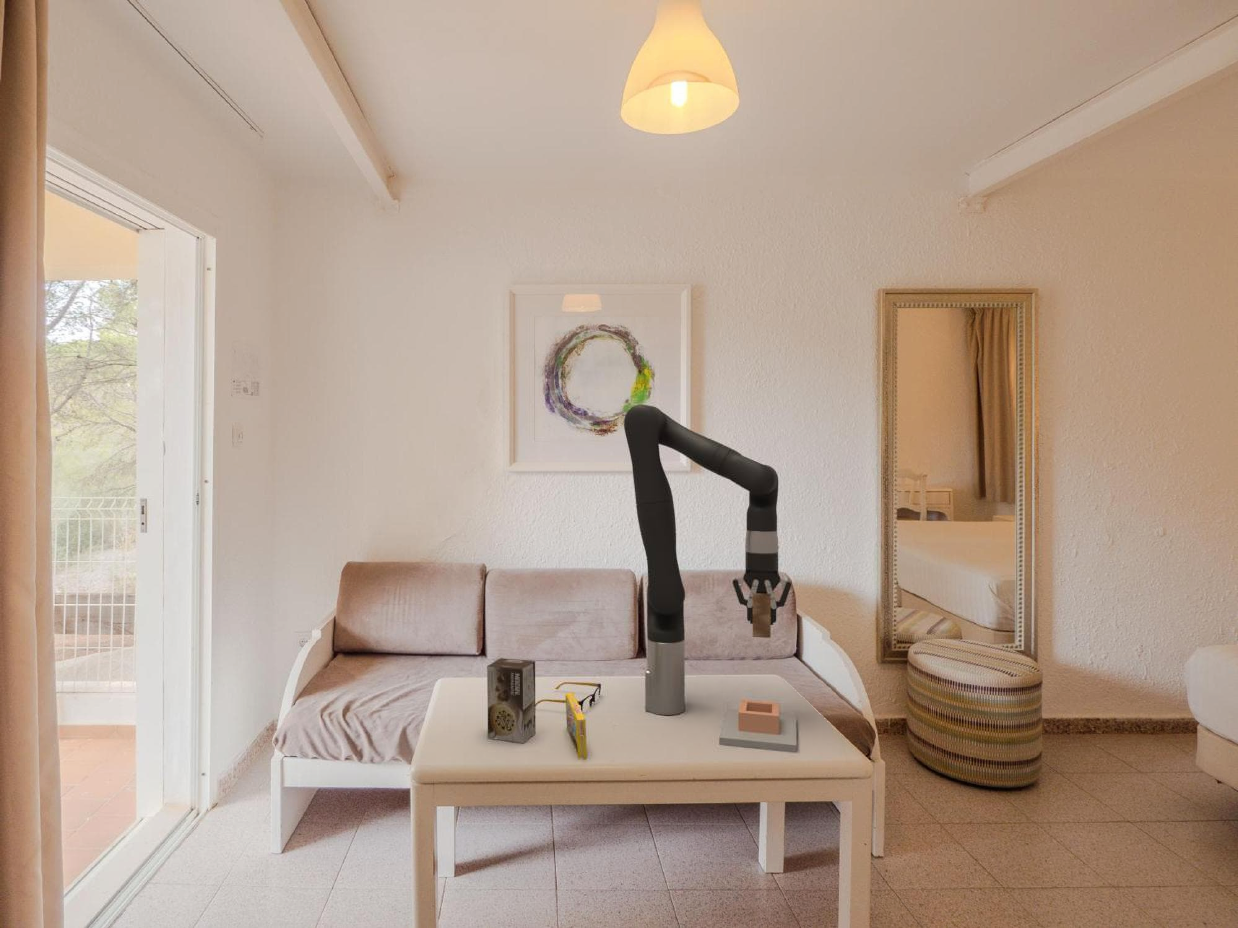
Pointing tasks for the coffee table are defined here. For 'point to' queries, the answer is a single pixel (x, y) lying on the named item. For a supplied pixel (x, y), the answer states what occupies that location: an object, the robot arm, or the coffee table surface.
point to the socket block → (759, 727)
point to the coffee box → (511, 699)
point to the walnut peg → (761, 615)
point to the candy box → (576, 725)
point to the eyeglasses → (577, 701)
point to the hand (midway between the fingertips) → (761, 623)
